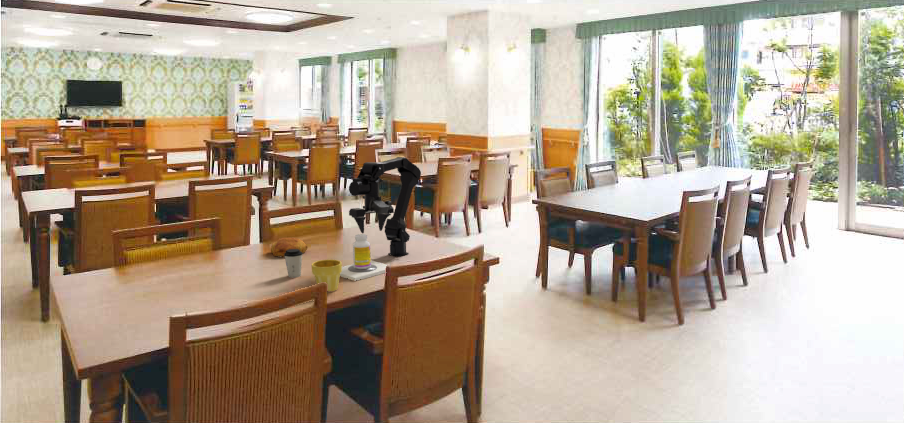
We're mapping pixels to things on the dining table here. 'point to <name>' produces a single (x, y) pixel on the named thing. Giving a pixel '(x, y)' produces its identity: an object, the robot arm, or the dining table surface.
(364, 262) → the supplement bottle
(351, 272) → the mount base
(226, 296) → the dining table surface
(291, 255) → the coffee cup
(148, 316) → the dining table surface
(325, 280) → the plant pot
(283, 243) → the croissant
